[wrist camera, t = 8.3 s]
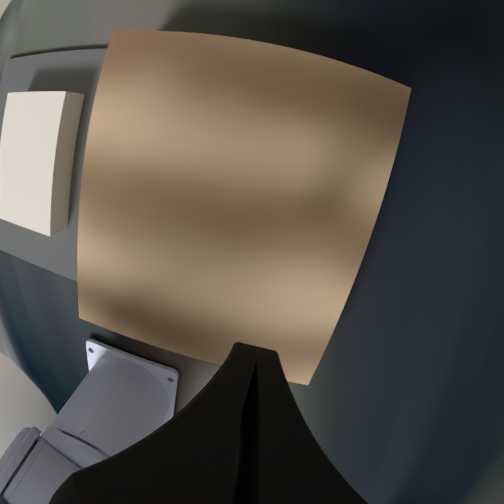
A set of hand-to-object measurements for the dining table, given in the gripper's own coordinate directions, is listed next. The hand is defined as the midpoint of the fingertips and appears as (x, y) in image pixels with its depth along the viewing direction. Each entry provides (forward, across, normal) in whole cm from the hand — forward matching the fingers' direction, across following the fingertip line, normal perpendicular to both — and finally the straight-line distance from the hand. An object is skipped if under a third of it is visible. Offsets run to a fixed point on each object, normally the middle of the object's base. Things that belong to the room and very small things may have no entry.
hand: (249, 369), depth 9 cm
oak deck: (+9, +3, -3) cm, 10 cm away
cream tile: (+8, +16, -3) cm, 19 cm away
